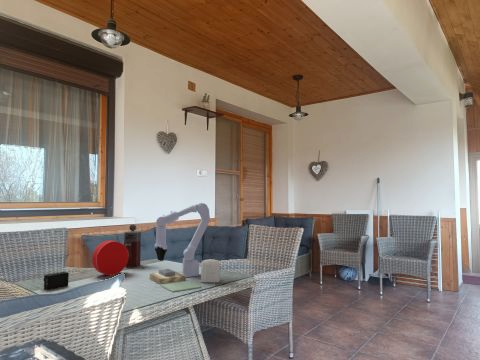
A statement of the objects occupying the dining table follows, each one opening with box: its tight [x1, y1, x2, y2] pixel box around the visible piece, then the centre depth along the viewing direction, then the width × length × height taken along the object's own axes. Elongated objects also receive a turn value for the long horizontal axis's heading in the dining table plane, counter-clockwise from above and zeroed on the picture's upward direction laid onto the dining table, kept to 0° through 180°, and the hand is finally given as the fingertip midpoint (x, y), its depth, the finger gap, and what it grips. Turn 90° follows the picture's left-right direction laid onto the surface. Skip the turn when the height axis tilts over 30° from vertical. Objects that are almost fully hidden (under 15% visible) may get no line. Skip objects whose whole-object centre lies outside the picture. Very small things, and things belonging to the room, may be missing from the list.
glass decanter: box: [123, 223, 142, 268], centre depth 233 cm, size 9×11×28 cm
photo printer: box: [200, 258, 221, 283], centre depth 189 cm, size 10×4×12 cm, turn 94°
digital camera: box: [43, 271, 70, 291], centre depth 177 cm, size 10×5×7 cm, turn 146°
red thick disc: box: [91, 240, 129, 276], centre depth 207 cm, size 20×6×20 cm, turn 136°
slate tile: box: [158, 268, 176, 276], centre depth 194 cm, size 6×9×2 cm, turn 35°
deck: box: [148, 270, 187, 286], centre depth 193 cm, size 15×16×3 cm
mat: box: [159, 279, 202, 293], centre depth 179 cm, size 16×16×1 cm
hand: (160, 260), depth 202 cm, fingers closed
